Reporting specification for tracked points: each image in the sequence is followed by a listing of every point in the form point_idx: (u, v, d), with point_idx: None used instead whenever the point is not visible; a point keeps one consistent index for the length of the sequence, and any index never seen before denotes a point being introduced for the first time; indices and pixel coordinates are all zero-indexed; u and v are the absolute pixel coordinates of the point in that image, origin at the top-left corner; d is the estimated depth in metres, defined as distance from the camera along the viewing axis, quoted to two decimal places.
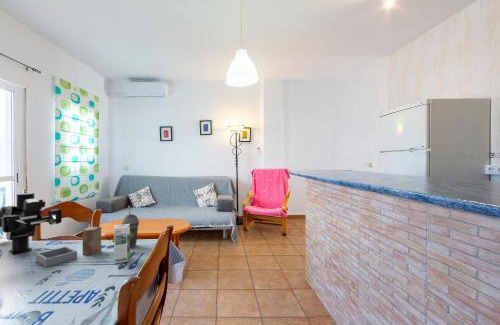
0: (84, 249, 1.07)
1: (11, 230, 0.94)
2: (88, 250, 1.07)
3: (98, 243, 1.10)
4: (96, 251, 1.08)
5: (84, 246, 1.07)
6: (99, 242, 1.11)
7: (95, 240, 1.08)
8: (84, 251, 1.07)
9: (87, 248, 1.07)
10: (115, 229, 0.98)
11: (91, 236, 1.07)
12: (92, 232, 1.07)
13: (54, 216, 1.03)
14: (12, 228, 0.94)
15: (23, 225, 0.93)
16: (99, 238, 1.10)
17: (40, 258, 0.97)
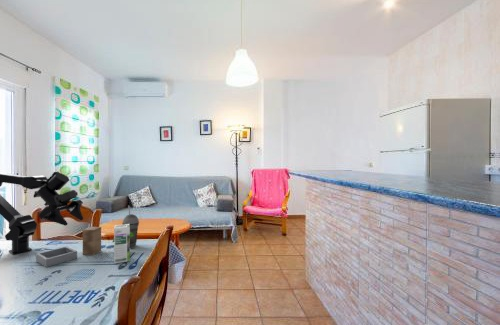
0: (84, 249, 1.07)
1: (47, 219, 1.03)
2: (88, 250, 1.07)
3: (98, 243, 1.10)
4: (96, 251, 1.08)
5: (84, 246, 1.07)
6: (99, 242, 1.11)
7: (95, 240, 1.08)
8: (84, 251, 1.07)
9: (87, 248, 1.07)
10: (115, 229, 0.98)
11: (91, 236, 1.07)
12: (92, 232, 1.07)
13: (80, 212, 1.15)
14: (49, 218, 1.03)
15: (64, 223, 1.04)
16: (99, 238, 1.10)
17: (40, 258, 0.97)
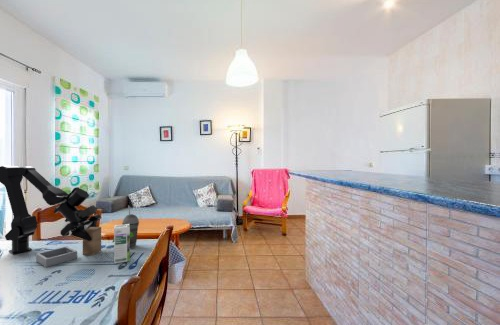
0: (84, 249, 1.07)
1: (72, 235, 1.04)
2: (88, 250, 1.07)
3: (98, 243, 1.10)
4: (96, 251, 1.08)
5: (84, 246, 1.07)
6: (99, 242, 1.11)
7: (95, 240, 1.08)
8: (84, 251, 1.07)
9: (87, 248, 1.07)
10: (115, 229, 0.98)
11: (91, 236, 1.07)
12: (92, 232, 1.07)
13: None
14: (74, 233, 1.04)
15: (88, 238, 1.06)
16: (99, 238, 1.10)
17: (40, 258, 0.97)
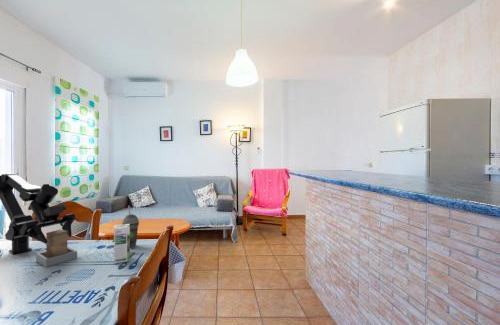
0: (47, 253, 1.00)
1: (28, 235, 0.96)
2: (50, 255, 0.99)
3: (62, 248, 1.01)
4: None
5: (47, 250, 1.00)
6: (64, 247, 1.02)
7: (58, 245, 1.00)
8: (47, 256, 1.00)
9: (50, 253, 0.99)
10: (115, 229, 0.98)
11: (52, 240, 0.99)
12: (53, 236, 0.98)
13: (70, 228, 1.06)
14: (30, 234, 0.96)
15: (44, 241, 0.96)
16: (64, 243, 1.02)
17: (40, 258, 0.97)
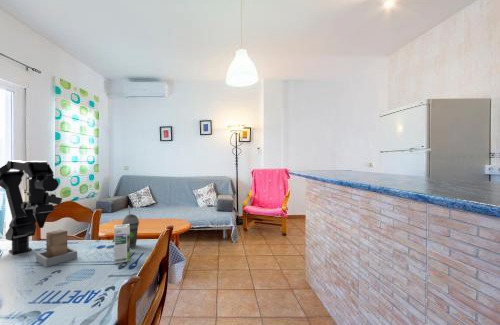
0: (47, 253, 1.00)
1: None
2: (50, 255, 0.99)
3: (62, 248, 1.01)
4: None
5: (47, 250, 1.00)
6: (64, 247, 1.02)
7: (58, 245, 1.00)
8: (47, 256, 1.00)
9: (50, 253, 0.99)
10: (115, 229, 0.98)
11: (52, 240, 0.99)
12: (53, 236, 0.98)
13: None
14: (38, 214, 0.99)
15: (42, 225, 1.02)
16: (64, 243, 1.02)
17: (40, 258, 0.97)
